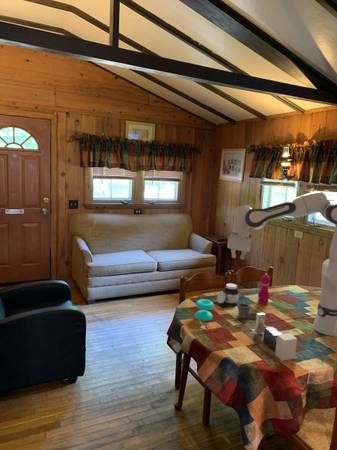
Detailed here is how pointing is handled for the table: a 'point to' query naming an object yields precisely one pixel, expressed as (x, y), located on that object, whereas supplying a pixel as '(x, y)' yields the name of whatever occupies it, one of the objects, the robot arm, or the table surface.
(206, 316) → the donuts
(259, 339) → the base board
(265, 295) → the pepper mill
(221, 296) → the spread jar
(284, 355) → the socket
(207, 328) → the cell phone
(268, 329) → the sleeve
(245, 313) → the pipe
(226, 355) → the table surface
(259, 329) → the tube
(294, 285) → the table surface
